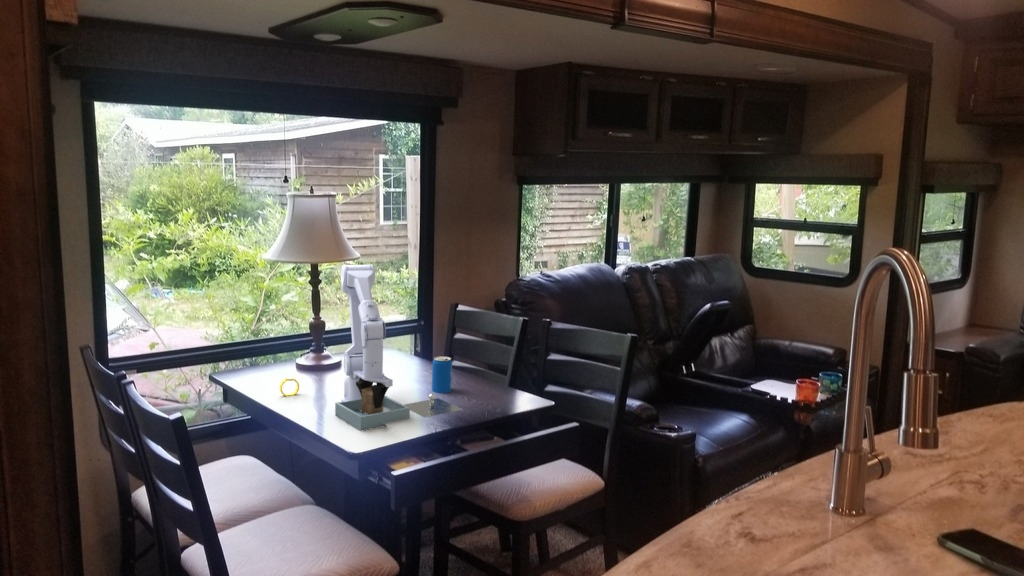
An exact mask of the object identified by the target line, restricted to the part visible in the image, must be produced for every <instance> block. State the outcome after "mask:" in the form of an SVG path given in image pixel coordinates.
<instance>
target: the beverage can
mask: <svg viewBox="0 0 1024 576" xmlns="http://www.w3.org/2000/svg"><path fill="white" fill-rule="evenodd" d="M452 371H453V361H452V357H449V356H443V355H442V356H435V357H433V360H432V371H431V372H432V373H431V374H432V375H431V391H432V393H435V394H436V393H437V394H447V393H451V392H452V379H453V378H452V373H453V372H452Z"/></svg>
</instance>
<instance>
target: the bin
mask: <svg viewBox="0 0 1024 576" xmlns="http://www.w3.org/2000/svg"><path fill="white" fill-rule="evenodd" d="M334 404H335V408H334V409H335V411H334V415H335V417H337V418H338V419H340V420H342V421H343V422H345V423H346V424H348V425H350V426H352V427H353V428H355V429H357V431H360V432H361V431H362V430H363V431H366V429H368V430H371V429H370V428H373V429H376V427H378V428H382V426H383V427H387V423H390V422H396V421H401V420H407V419H410V416H411V410H410V408H409V407H407V406H405V405H404V404H402V403H400V402H398V401H397V400H395V399H392V398H390V397H388V396H386V395H385V396H384V399H383V408H384V407H385V408H386V409H388V410H387V411H383V412H381V413H376V414H370V415H369V414H366V413H363V412H362V398H361V399H355V400H348V401H338V402H334ZM363 431H362V432H363Z"/></svg>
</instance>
